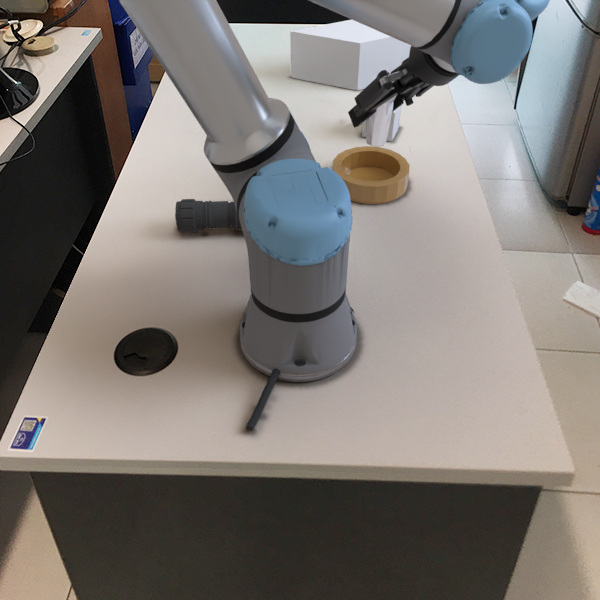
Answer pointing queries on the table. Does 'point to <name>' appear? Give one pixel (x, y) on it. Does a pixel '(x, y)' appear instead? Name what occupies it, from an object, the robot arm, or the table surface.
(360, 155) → the tan round shallow bowl
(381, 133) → the milkshake
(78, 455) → the table surface
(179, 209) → the flashlight
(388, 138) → the white cube
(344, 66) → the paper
